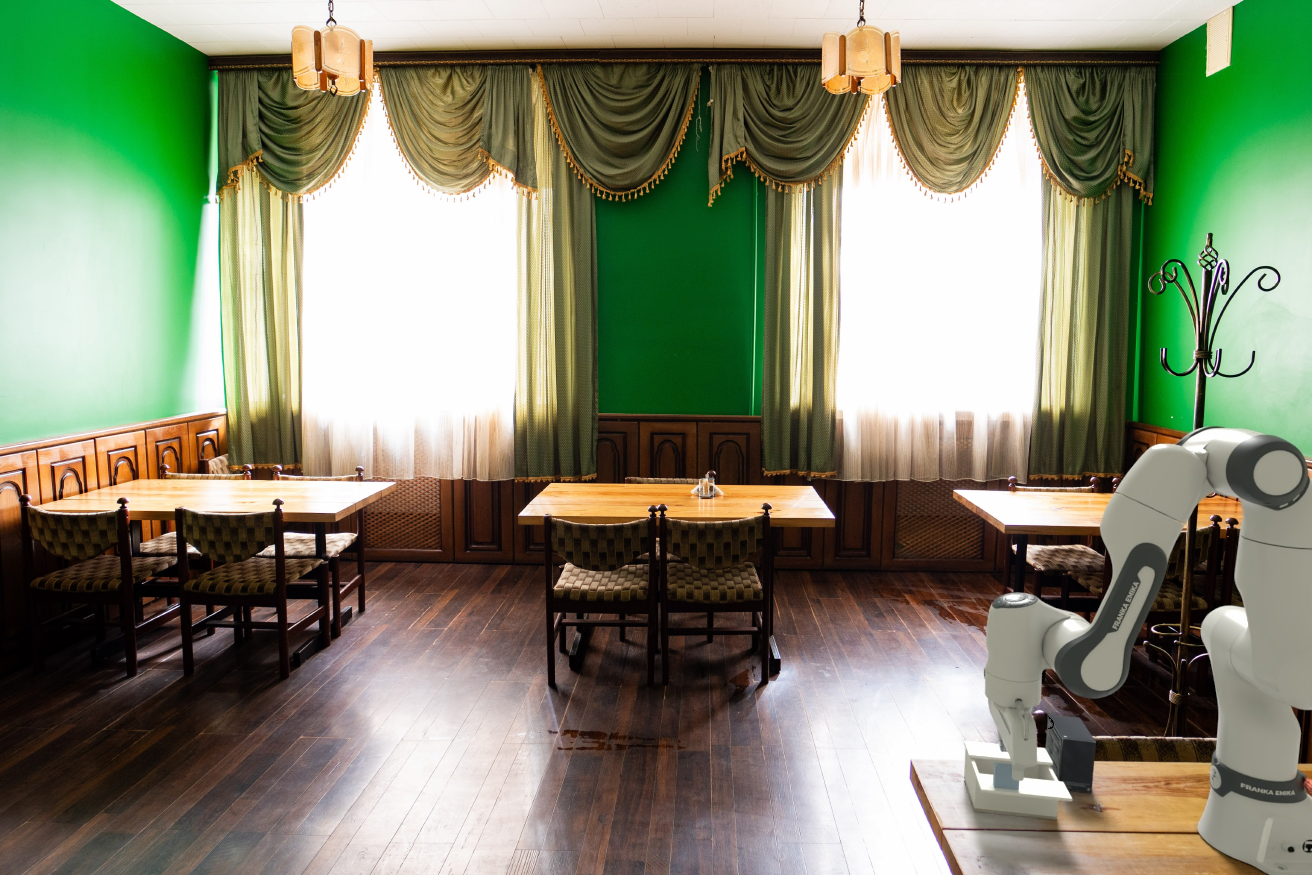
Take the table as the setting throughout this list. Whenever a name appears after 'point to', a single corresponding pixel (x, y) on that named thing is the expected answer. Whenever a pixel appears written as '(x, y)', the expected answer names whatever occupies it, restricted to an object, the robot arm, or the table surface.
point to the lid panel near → (1021, 785)
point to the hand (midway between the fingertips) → (1010, 763)
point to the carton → (1009, 802)
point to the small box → (1071, 752)
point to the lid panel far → (1000, 752)
